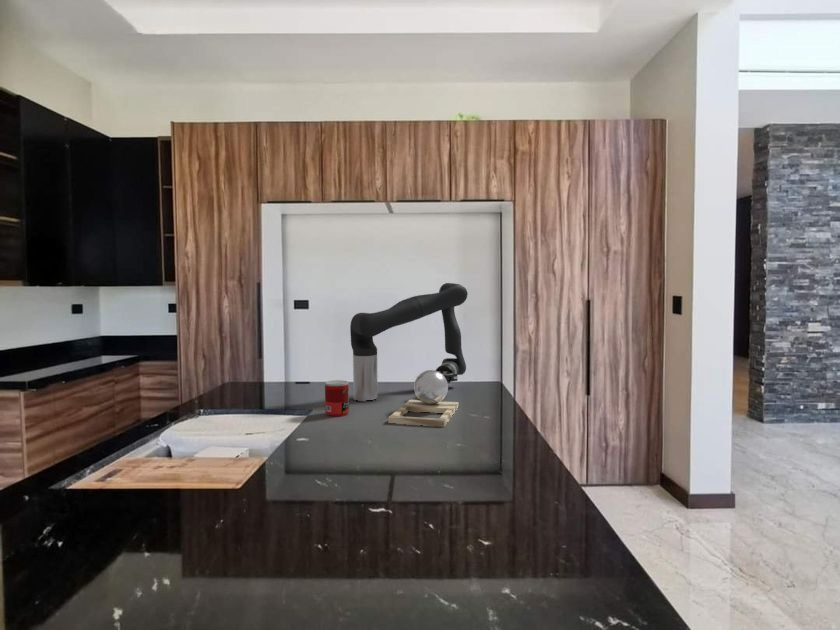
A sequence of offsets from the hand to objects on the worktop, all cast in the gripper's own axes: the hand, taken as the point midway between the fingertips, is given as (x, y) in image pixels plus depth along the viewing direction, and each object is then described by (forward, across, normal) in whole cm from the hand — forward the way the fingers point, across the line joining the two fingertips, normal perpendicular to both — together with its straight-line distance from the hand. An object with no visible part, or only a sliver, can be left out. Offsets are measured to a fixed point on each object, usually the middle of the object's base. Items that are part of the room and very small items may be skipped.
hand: (436, 381), depth 190 cm
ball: (+9, 0, 0) cm, 9 cm away
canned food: (+23, -30, +8) cm, 39 cm away
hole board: (+17, 0, +8) cm, 19 cm away
